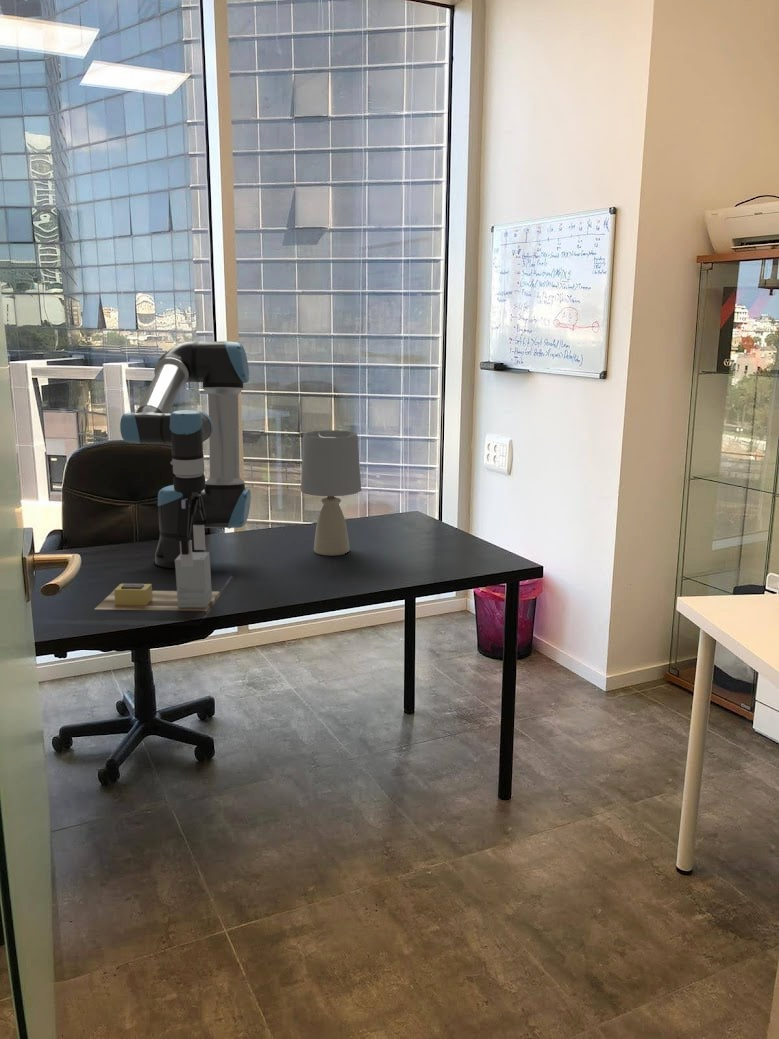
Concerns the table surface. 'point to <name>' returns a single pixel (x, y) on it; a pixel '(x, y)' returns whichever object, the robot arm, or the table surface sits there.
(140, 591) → the block
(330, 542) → the lamp
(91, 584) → the table surface
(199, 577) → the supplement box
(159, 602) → the plywood panel
